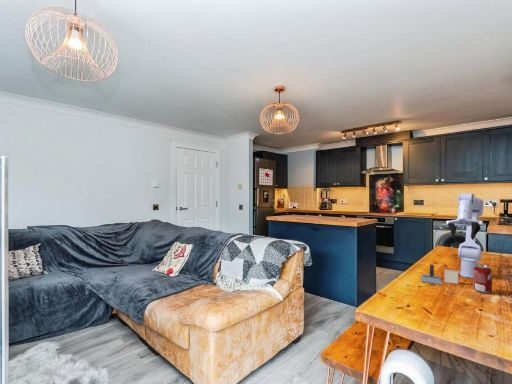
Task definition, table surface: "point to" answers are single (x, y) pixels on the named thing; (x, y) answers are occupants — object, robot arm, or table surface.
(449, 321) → the table surface
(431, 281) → the mat
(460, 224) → the robot arm
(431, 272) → the grey bar
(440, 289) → the table surface
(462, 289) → the table surface
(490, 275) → the soda can
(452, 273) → the tile
